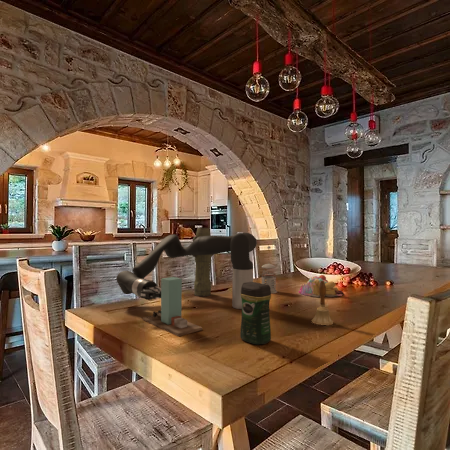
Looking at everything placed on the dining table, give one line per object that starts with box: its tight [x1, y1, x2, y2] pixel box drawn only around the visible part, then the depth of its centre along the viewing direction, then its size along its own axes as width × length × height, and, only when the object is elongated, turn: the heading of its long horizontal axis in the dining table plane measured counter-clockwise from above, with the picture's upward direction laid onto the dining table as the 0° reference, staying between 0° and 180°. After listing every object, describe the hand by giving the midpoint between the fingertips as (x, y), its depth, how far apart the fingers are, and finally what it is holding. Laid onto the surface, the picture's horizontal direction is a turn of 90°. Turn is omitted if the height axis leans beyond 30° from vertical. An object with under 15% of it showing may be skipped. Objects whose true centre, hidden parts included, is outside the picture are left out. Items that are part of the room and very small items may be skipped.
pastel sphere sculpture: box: [298, 274, 345, 298], centre depth 177 cm, size 25×24×9 cm
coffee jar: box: [239, 281, 272, 345], centre depth 104 cm, size 10×8×19 cm
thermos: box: [192, 227, 215, 297], centre depth 170 cm, size 9×12×35 cm
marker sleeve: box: [160, 276, 183, 325], centre depth 119 cm, size 5×6×16 cm
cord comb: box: [142, 310, 203, 337], centre depth 119 cm, size 24×10×4 cm, turn 43°
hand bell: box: [310, 281, 334, 325], centre depth 123 cm, size 8×8×16 cm
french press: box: [261, 246, 278, 294], centre depth 178 cm, size 10×12×25 cm
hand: (167, 296), depth 121 cm, fingers closed
